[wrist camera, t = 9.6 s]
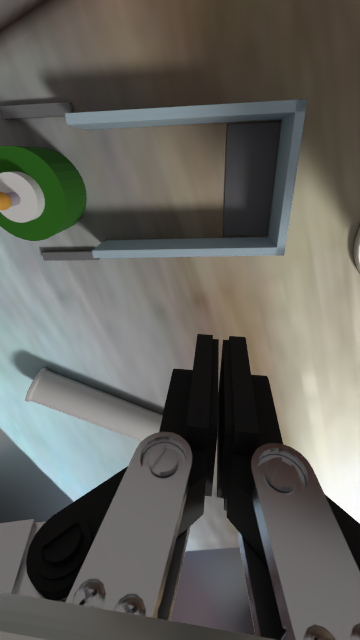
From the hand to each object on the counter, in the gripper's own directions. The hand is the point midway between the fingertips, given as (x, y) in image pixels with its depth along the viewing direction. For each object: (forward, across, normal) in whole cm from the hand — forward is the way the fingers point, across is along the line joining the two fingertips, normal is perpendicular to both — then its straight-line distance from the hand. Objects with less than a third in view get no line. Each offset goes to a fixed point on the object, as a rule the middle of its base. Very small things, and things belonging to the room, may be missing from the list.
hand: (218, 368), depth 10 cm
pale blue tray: (+25, +4, -4) cm, 25 cm away
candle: (+24, +19, -4) cm, 31 cm away
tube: (+25, +16, +29) cm, 41 cm away
